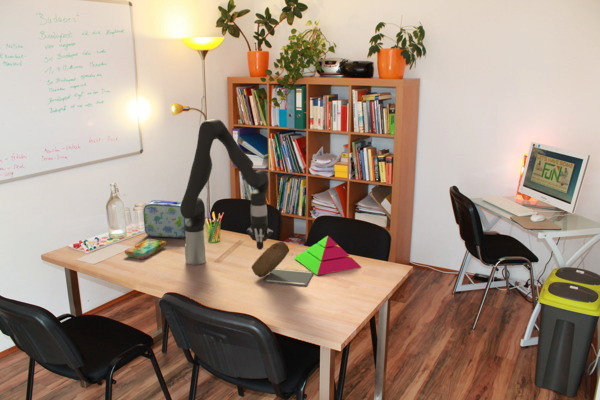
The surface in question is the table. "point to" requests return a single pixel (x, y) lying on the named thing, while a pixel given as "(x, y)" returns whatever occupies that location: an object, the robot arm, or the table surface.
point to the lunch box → (164, 219)
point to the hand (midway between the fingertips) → (260, 248)
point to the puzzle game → (145, 248)
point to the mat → (289, 277)
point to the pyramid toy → (326, 258)
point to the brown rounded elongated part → (270, 259)
